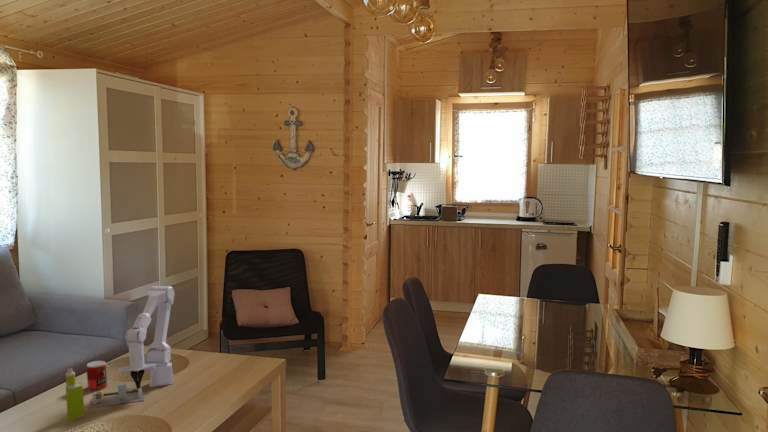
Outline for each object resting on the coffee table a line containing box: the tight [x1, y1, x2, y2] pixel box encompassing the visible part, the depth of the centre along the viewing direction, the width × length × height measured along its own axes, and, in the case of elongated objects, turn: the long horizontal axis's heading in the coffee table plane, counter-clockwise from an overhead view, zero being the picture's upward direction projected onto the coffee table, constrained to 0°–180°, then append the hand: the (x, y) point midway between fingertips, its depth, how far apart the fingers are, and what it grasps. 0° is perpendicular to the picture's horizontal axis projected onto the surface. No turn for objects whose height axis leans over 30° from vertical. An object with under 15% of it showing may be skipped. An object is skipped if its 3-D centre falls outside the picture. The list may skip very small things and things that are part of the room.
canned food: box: [86, 360, 108, 391], centre depth 257 cm, size 8×8×11 cm
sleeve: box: [117, 382, 128, 398], centre depth 244 cm, size 3×3×5 cm
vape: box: [65, 367, 85, 421], centre depth 226 cm, size 4×6×20 cm, turn 139°
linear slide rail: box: [88, 387, 146, 409], centre depth 243 cm, size 21×10×4 cm, turn 109°
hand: (138, 387), depth 246 cm, fingers closed
